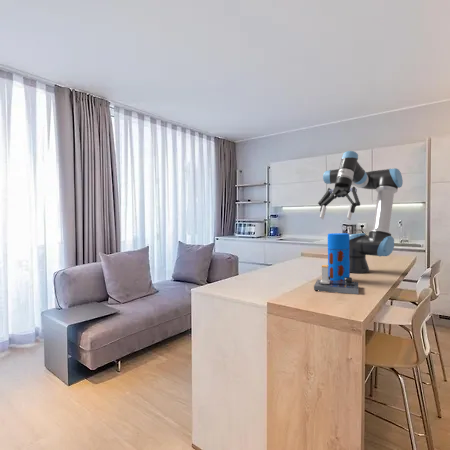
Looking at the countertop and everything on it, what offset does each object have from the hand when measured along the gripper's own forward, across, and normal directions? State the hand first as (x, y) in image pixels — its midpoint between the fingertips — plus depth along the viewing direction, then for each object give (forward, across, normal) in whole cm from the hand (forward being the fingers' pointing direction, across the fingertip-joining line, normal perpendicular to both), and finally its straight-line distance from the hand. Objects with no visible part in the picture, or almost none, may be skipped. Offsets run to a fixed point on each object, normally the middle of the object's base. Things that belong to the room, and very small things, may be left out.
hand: (334, 218), depth 145 cm
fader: (+29, -2, +10) cm, 31 cm away
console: (+30, +2, +14) cm, 34 cm away
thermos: (+22, -6, +31) cm, 38 cm away
